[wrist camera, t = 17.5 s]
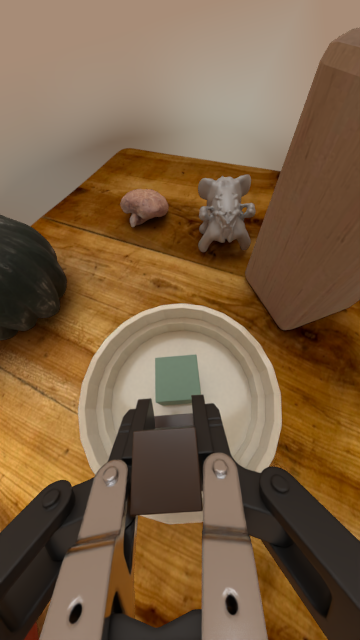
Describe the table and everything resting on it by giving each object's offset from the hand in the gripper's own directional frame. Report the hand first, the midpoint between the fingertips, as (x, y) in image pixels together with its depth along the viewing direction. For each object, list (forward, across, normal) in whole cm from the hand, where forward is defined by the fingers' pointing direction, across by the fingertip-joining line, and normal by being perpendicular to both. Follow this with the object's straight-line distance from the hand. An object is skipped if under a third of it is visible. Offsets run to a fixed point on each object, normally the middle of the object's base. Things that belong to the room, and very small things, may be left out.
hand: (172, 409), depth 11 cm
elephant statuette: (+26, -8, -12) cm, 30 cm away
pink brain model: (+30, +4, -16) cm, 35 cm away
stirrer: (+2, 0, +5) cm, 5 cm away
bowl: (+8, 0, +6) cm, 10 cm away
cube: (+9, 0, +5) cm, 10 cm away
